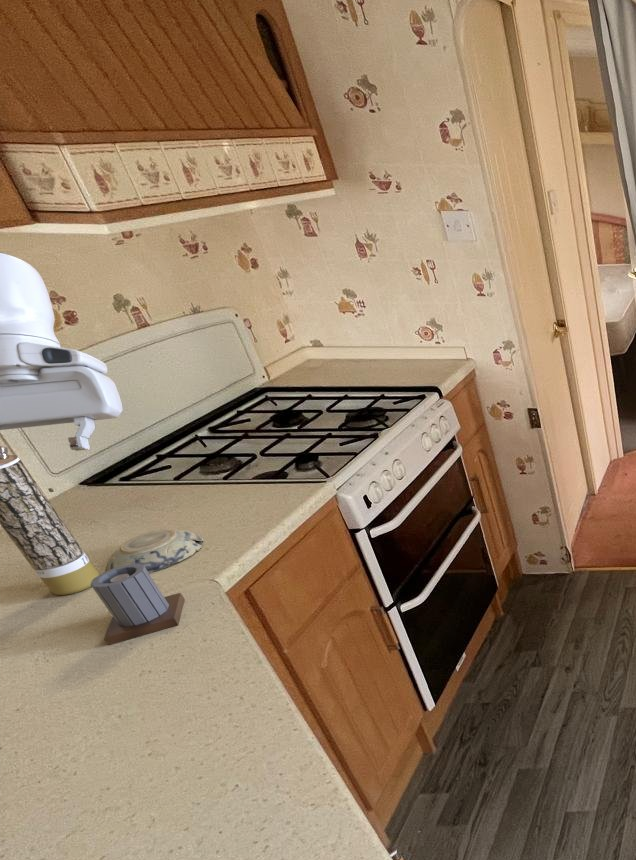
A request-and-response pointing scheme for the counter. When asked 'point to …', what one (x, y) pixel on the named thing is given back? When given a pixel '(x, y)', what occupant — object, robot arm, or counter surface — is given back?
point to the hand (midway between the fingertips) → (40, 454)
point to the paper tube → (41, 532)
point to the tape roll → (130, 595)
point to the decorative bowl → (156, 549)
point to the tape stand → (162, 622)
